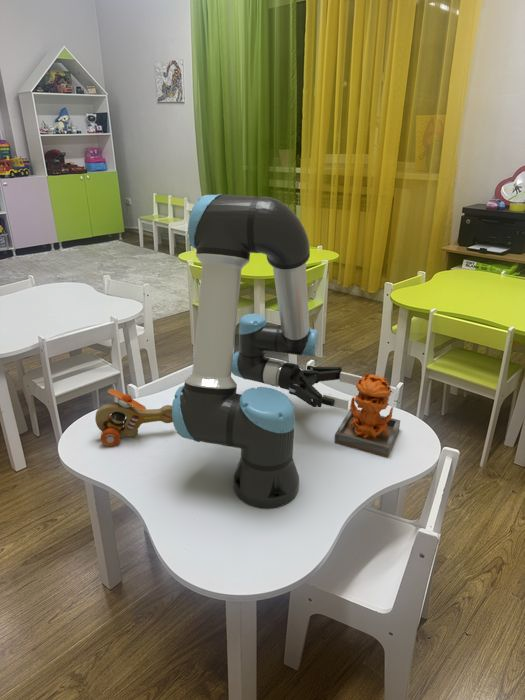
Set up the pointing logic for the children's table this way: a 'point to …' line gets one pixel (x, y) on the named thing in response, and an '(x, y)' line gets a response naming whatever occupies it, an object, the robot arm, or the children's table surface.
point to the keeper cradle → (374, 446)
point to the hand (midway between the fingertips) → (355, 392)
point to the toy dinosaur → (371, 406)
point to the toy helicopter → (134, 418)
